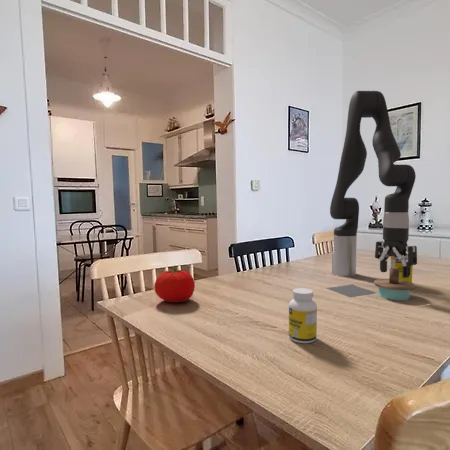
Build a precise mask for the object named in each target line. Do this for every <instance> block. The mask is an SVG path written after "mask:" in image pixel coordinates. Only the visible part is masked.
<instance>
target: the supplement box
mask: <svg viewBox="0 0 450 450" xmlns="http://www.w3.org/2000/svg"><path fill="white" fill-rule="evenodd" d="M403 266H404V265H403V264H402V262H401V261H400V260H399V259H398V257H394V256H390V269H391V268H394V269H399V280H404V281H408V282H411V283H413V266H414V265H412V266H411V268H410V276H409V277H408V278H403V277H402V270H403Z"/></svg>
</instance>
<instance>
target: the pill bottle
mask: <svg viewBox="0 0 450 450" xmlns="http://www.w3.org/2000/svg"><path fill="white" fill-rule="evenodd" d="M292 297H293V299H291V300H290V301H289V303H288V337H289V339H290V340H291V341H293V342H295V343H297V344H298V343H299V344H311V343H313V342H315V341H316V339H317V336H318V335H317V334H318V333H317V327H318V325H317V323H318V319H317V318H318V306H317V305H318V304H317V303H316V301H314V300H313V298H314V291H313V289H310V288H305V287H304V288H303V287H301V288H300V287H299V288H294V289H292Z"/></svg>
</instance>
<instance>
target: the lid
mask: <svg viewBox="0 0 450 450" xmlns="http://www.w3.org/2000/svg"><path fill="white" fill-rule="evenodd" d="M388 273H389V274H388V275H389V278H378V279H375V280H373V285H374V286H376V287H378V288H379V287H381V288H385V289H391V290H410V291H411V290H414V289H415V287H416V286H415V283H413V282H412V283H411V282H408V281H404V280H399V269H394V268H391V267H390V268H389V272H388Z"/></svg>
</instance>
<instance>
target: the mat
mask: <svg viewBox="0 0 450 450" xmlns="http://www.w3.org/2000/svg"><path fill="white" fill-rule="evenodd" d="M325 289H327V290H329V291H332V292H335V293H338V294H340V295H342V296H346V297H348V298H354V297H360V296H361V297H362V296H366V295H368V296H369V295H372V294H377V292H376V291H372V290H370V289H368V288H367V289H366V288H363V287H361V286H357V285H354V284H346V285H340V286H332V287H326V288H325Z"/></svg>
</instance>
